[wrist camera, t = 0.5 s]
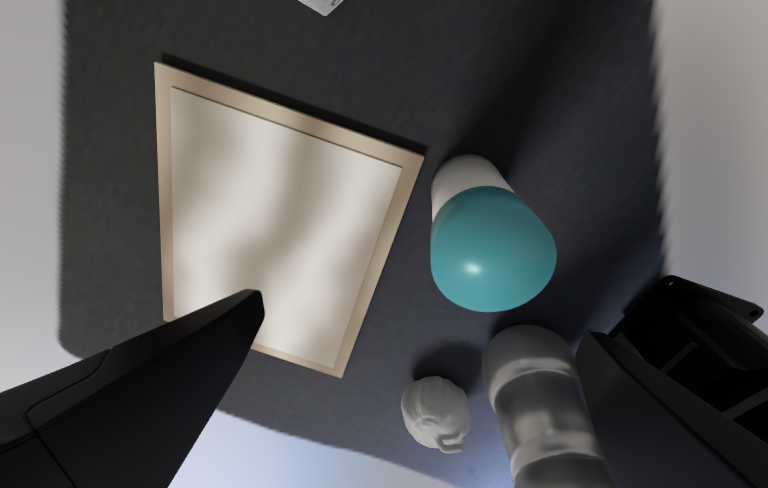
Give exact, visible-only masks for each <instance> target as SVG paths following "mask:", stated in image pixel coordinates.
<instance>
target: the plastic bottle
mask: <svg viewBox="0 0 768 488" xmlns="http://www.w3.org/2000/svg"><path fill="white" fill-rule="evenodd" d="M575 355H576V354H575V352H574V351H573V350H572V349H571V348H570V346H569V345H568V344H567V343H566V341H565V340H564V339H563V338H562V337H561V336H559V335H558V334H556V333H555V332H553V331H550V330H548V329H545V328H543V327H540V326H536V325H528V324H522V325H515V326H511V327H508V328H506V329H504V330H502V331H500V332H499V333H497V334H496V335H495V336H494V337H493V338H492V339H491V341H490V342H489V343H488V345H487V346H486V348H485V350H484V353H483V357H482V379H483V383H484V386H485V389H486V392H487V395H488V398H489V400H490V403H491V405H492V407H493V409H494V412H495V414H496V417H497V421H498V424H499V428H500V431H501V435H502V438H503V442H504V445H505V448H506V452H507V455H508V459H509V462H510V468H511V474H512V480H513V484H514V488H617V487H616V485H615V482H614V479H613V477H612V474H611V472H610V469H609V466H608V464H607V461H606V459H605V456H604V453H603V451H602V448H601V446H600V443H599V440H598V438H597V435H596V433H595V430H594V427H593V424H592V421H591V418H590V415H589V412H588V408H587V404H586V401H585V397H584V393H583V389H582V385H581V382H580V378H579V374H578V370H577V367H576V362H575Z"/></svg>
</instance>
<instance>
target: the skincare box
mask: <svg viewBox="0 0 768 488" xmlns="http://www.w3.org/2000/svg"><path fill="white" fill-rule="evenodd" d="M299 1H301V2H302V3H304V4H305V5H307V6H309V7H310V8H312V9H314V10H315V11H317V12H319V13H320V14H322V15H323V16H327V15H328V14H329V13H330V12H331V11H333V10H334V9H335V8H336V7H337V6H338V5H339V4H340V3H341V2H342V1H343V0H299Z"/></svg>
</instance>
